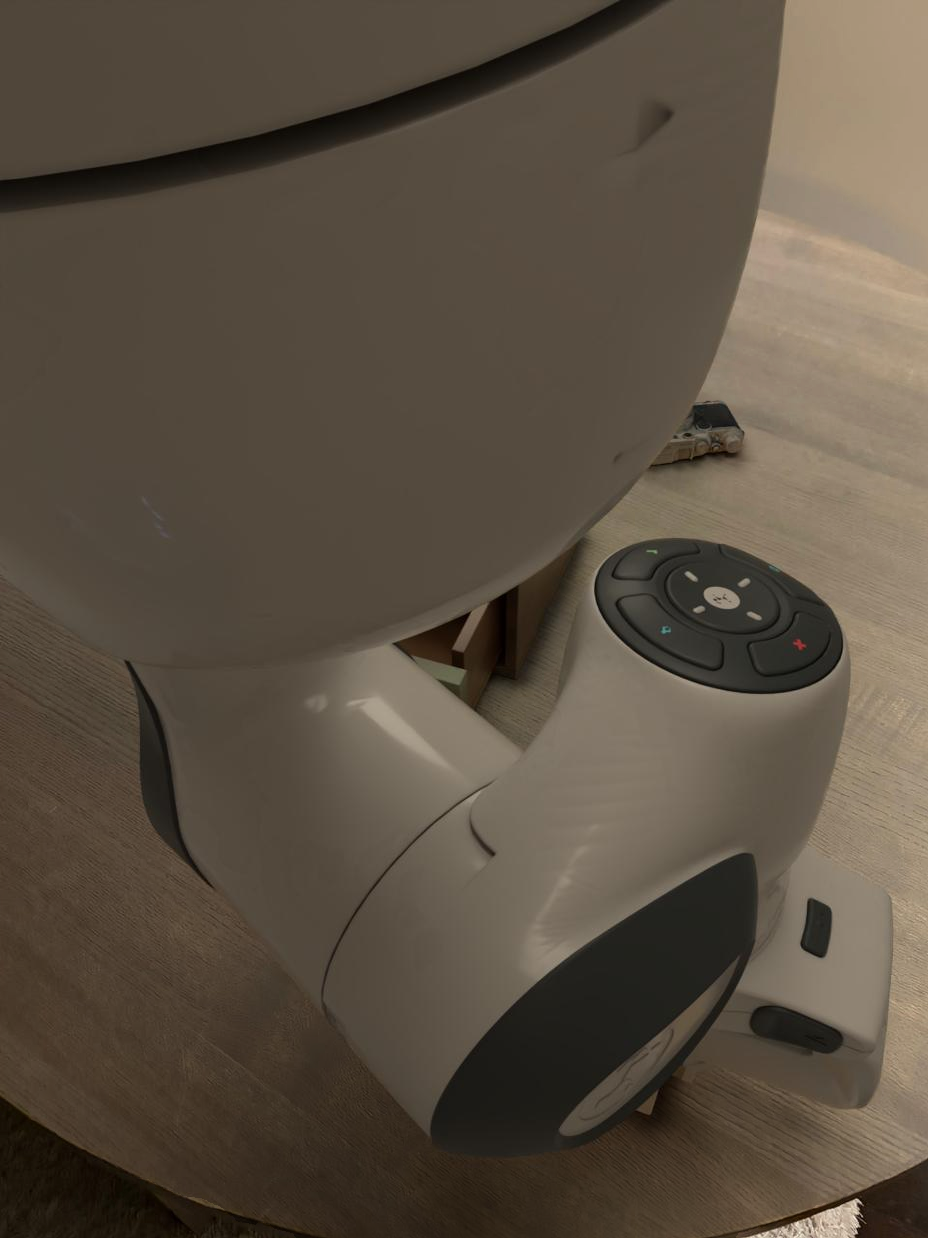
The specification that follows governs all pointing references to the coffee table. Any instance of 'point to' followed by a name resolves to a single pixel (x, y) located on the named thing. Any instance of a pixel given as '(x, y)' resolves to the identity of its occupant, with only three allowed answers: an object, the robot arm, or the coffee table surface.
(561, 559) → the cabinet
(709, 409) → the camera
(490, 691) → the coffee table surface
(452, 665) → the drawer
